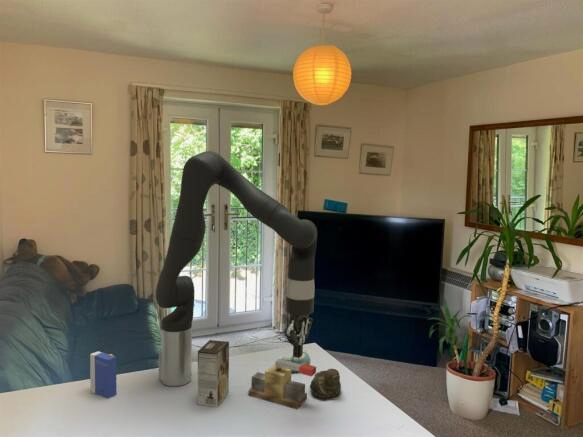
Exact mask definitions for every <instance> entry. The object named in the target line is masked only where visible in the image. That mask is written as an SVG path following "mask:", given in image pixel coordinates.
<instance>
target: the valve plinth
mask: <svg viewBox="0 0 583 437" xmlns="http://www.w3.org/2000/svg"><path fill="white" fill-rule="evenodd" d="M291 371H292V369H288V368H284V367H281V370H280V371H277V370H276V365H275V364H273V365H271V366H269V367H268V368H267V369H266V370H265V371H264V372H258V371H257V372H256V373H255V374H254V375H252V376H251V388H250V389H249V390H248V392H247V393H248V396H249V397H252V398H257V399H260V400H264V401H267V402H271V403H275V404H278V405H282V406H285V407H287V408H288V407H289V408H293V409H294V410H295V409H296V410H298V409H299V408H300V407H301V405H302V404H304V402H305V401H306V400H307V397H308V393H307V392H306V384H305V383H303V382H299V381H295V380H292V372H291Z"/></svg>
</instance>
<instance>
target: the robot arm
mask: <svg viewBox="0 0 583 437" xmlns="http://www.w3.org/2000/svg"><path fill="white" fill-rule="evenodd" d="M181 174H182V175H181V183H180V191H179V199H178V204H177V208H176V212H175V216H174V220H173V221H174V222H173V223H172V228H171V233H170V237H169V243H168V247H167V251H166V256H165V259H164V263H163V266H162V269H161V272H160V274H159V277H158V280H157V283H156V287H155V301H156V304H157V305H158V306H159V307H160V308H162V309H171V308H175V309H174V310H173V311H171V312H170V313H168V314H167V315H165V316H163V318H162V319H161V339H160V340H161V346H160V347H161V349H160V350H159V351H158V380H159V382H161V383H162V384H163V385H165V386H168V387H179V386H185V385H186V384H188V383H190V382H191V381H192V364H193V363H192V359H193V358H192V356H193V355H192V351H193V350H192V348H193V347H192V346H193V345H192V343H193V342H192V340H193V338H192V337H193V333H192V332H193V330H192V329H193V320H194V309H195V308H194V307H195V284H194V281H193V279H192V278H191V277H190V276H189V275H180V274H181V272H182V271H183V270H184V269H185V267H187V265H189V264H190V263H191V262H192V261H193V259H194V258H195V257H196V256H197V255H198V253H199V252H200V250H201V249H202V245H203V242H204V238H205V234H206V220H205V214H204V207H205V203H206V199H207V196H208V193H209V191H210V189H211V187H212V186H214V185H217V186H220V187H221V188H224V189H225V190H227V191H229V192H230V193H231V194H232V195H233V196H234V197H236V199H237V200H238V202H240V204H241V206H242V207H243V208H244V209H245V211H247V212H248V214H250V215H251V216H252V217H253V218H255V219H256V220H258V221H259V222H260V223H262V224H264V226H267V227H268V228H269V229H272V230H273V231H274V232H275V233H276V234H277V235H278V236H279V237H280V238H281V239H283V240H284V241H285V242H286V243H287V244H289V245H291V252H290V253H291V254H290V257H289V259H288V264H287V265H288V266H287V281H286V289H285V290H286V292H285V311H286V313H288V314H289V321H288V323H289V326H288V328H284V330H283V332H284V335H285V337H286V339H287V342H288V343H289V344H291V345H292V346H293V347H292V348H293V349H292V356H294V357H296V358H300V357H301V356H302V355H303V352H304V350H303V349H304V343H305V340H307V339H308V337H309V334H310V330H311V327H312V324H313V321H314V320H313V319H314V318H312V317H310V315H311V314H313V313H314V311H315V310H314V309H315V305H314V304H315V290H316V289H315V265H316V264H315V257H316V250H317V243H318V229H317V225H315V223H314V222H313V221H311V220H309V219H300V218H299V217H297V216H295V215H294V214H292V212H290V211H289V209H288V208H287V207H286V206H285V205H284V204H282V203H281V202H279V201H278V200H277V199H275V198H273V197H272V196H270V195H269V194H267V193H265V192H264V191H263V190H262V189H261V188H259V187H257V186H256V185H255V184H254V183H252V182H251V181H250V180H249V179H248V178H246V177H245V176H244V175H243V174H242V173H241V172H240V171H239V170H237V169H236V168H235V167H234V166H233V165H231V164H230V162H228V161H227V160H226V159H225V158H224V157H223V156H222V155H221V154H219V153H218V152H215V151H213V150H212V151H211V150H206V151H202V152H199V153H197V154H195V155H193V156H191V157H189V158H188V159H187V160H186V162H185V163H184V165H183V168H182V173H181Z"/></svg>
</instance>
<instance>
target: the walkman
mask: <svg viewBox="0 0 583 437" xmlns="http://www.w3.org/2000/svg"><path fill="white" fill-rule="evenodd" d="M89 358H90V361H89V362H90V363H89V364H90V365H89V366H90V367H89V370H90V372H89V373H90V374H89V376H90V381H89V382H90V393H93V394H94V395H95V394H96V395H99V396H101V397H104V398H107V399H111V398H112V397H115V396H116V395H117V356H116V355H114V354H112V353H110V354H109V353H106V352H101V351H96V352H92V353H90V356H89Z"/></svg>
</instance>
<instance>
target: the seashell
mask: <svg viewBox="0 0 583 437" xmlns="http://www.w3.org/2000/svg"><path fill="white" fill-rule="evenodd" d="M313 376H314V377H313V379H312V380H311V381H310V385H309V389H310V390H311V393H312V394H313V395H314V396H316V397H318V398H321V399H323V398H327V399H328V398H333V397H335V396H339V395H340V393H341V391H342V385H341V384H342V383H341V381H340V380H341V375H340V372H339V370H337V369H336V368H329V369H327V370H320V371H318V372H316V373H315V374H314V375H313Z"/></svg>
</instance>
